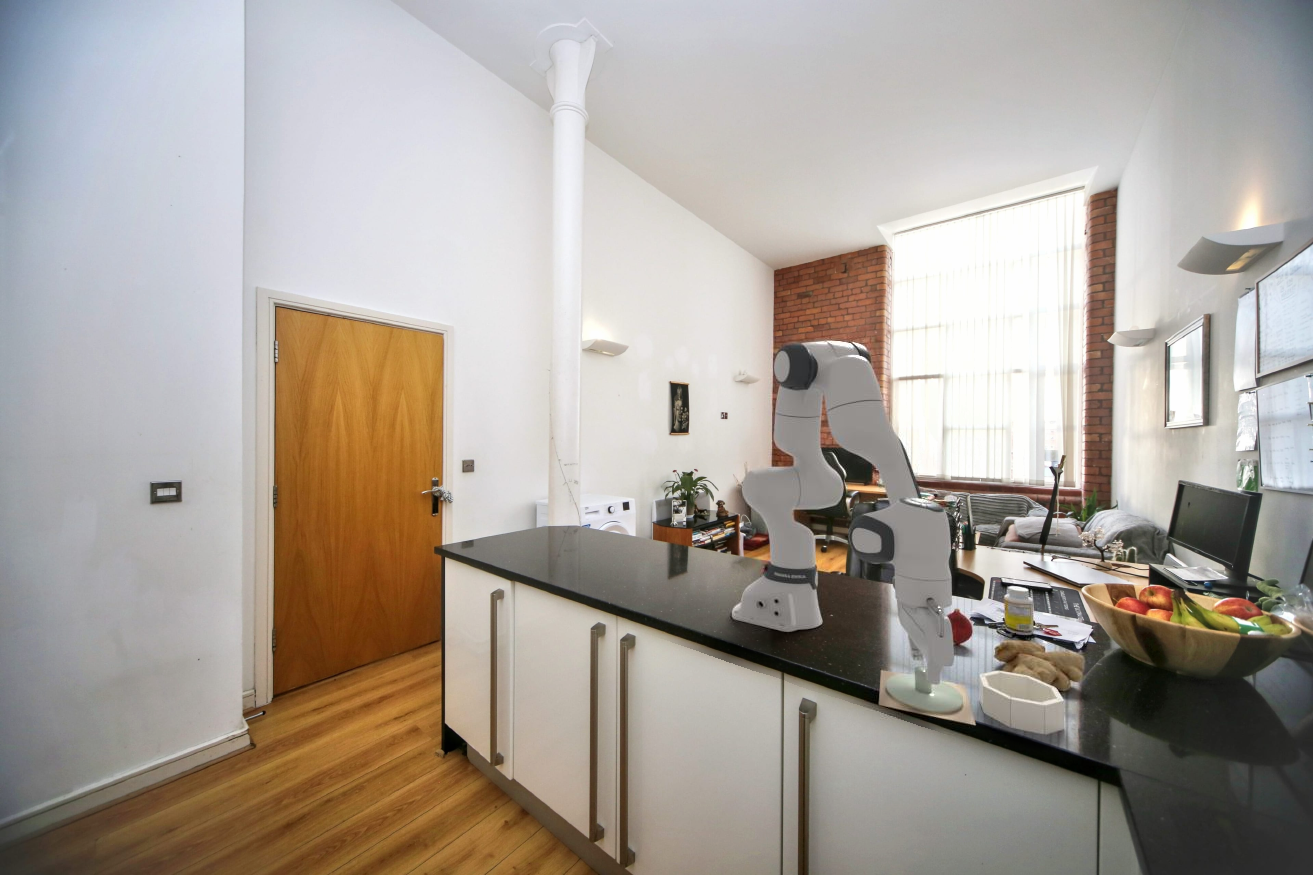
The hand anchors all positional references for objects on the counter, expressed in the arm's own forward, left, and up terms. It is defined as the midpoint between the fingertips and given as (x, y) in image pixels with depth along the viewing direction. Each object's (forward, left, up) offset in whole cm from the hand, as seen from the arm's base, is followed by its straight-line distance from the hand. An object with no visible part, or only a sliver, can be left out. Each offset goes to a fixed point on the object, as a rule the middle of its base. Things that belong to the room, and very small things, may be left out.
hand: (924, 670), depth 87 cm
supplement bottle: (+22, +45, -6) cm, 50 cm away
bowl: (+14, +1, -5) cm, 15 cm away
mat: (0, +1, -5) cm, 5 cm away
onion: (+8, +30, -5) cm, 31 cm away
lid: (0, +1, -5) cm, 5 cm away
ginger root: (+19, +18, -6) cm, 26 cm away
